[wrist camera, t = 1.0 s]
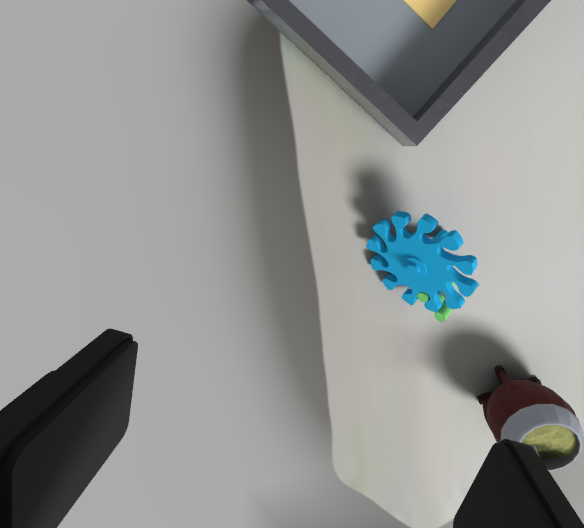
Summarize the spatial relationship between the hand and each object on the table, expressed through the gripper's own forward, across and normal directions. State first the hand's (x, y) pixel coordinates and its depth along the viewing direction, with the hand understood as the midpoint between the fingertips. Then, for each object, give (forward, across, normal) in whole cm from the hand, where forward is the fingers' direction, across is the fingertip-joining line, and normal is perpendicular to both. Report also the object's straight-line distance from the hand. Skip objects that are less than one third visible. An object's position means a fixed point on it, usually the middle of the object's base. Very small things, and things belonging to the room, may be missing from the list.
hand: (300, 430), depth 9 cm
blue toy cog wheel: (+28, -9, +1) cm, 30 cm away
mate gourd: (+28, -23, +13) cm, 38 cm away
